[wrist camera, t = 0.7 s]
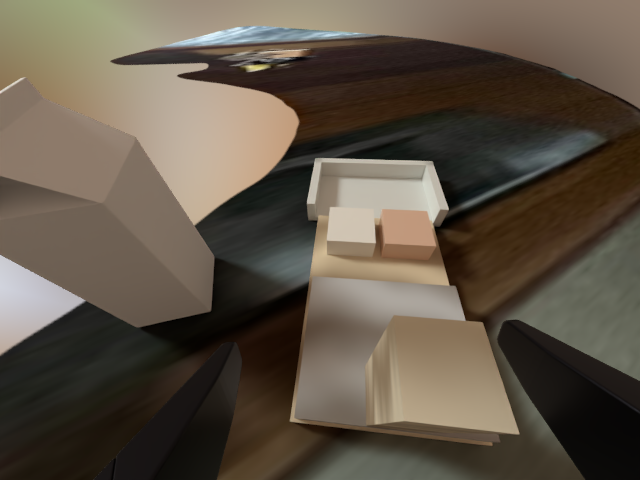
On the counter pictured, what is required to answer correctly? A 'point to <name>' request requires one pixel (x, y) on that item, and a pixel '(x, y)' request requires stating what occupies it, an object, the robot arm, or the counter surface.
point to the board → (376, 271)
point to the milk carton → (95, 214)
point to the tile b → (406, 234)
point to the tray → (376, 187)
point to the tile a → (351, 232)
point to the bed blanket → (399, 362)
